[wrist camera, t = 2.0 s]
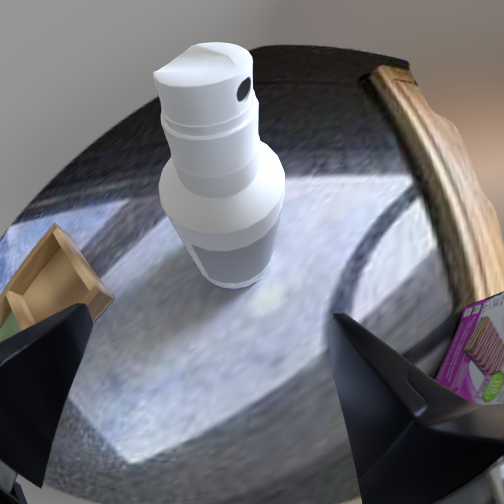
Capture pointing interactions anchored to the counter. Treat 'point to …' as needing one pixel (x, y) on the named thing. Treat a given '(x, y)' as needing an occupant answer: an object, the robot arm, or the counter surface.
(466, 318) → the candy bar box
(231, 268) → the spray bottle
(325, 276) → the counter surface
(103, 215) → the counter surface
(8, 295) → the holder
